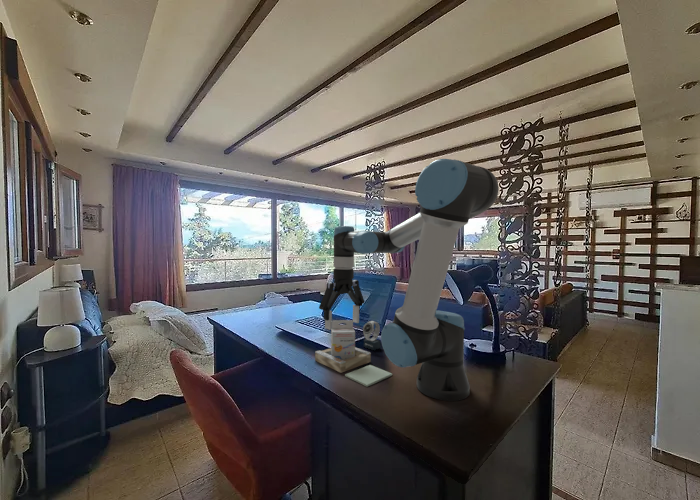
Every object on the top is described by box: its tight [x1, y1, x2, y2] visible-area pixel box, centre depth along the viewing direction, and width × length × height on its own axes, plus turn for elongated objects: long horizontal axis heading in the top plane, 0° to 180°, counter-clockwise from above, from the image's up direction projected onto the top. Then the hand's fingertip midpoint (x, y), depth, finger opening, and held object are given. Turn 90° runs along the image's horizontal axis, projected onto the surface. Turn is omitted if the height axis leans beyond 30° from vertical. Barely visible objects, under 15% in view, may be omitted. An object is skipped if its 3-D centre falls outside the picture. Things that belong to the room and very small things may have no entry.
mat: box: [344, 364, 393, 388], centre depth 99 cm, size 10×12×1 cm
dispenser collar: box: [314, 346, 372, 374], centre depth 111 cm, size 14×14×3 cm
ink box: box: [330, 319, 356, 360], centre depth 111 cm, size 8×5×15 cm, turn 98°
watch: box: [362, 320, 381, 351], centre depth 127 cm, size 6×8×11 cm
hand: (342, 325), depth 112 cm, fingers open, 13 cm apart
